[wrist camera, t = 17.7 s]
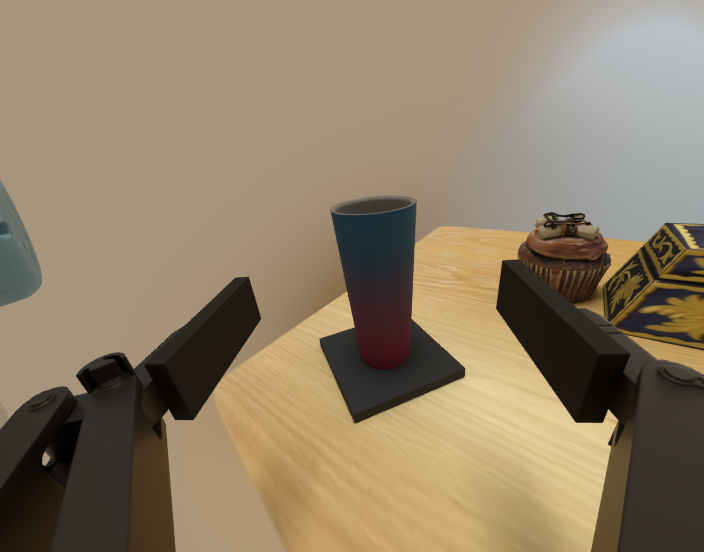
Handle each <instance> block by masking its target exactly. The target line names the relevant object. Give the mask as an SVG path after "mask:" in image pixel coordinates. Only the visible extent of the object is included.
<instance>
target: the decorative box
mask: <svg viewBox="0 0 704 552" xmlns="http://www.w3.org/2000/svg"><path fill="white" fill-rule="evenodd" d="M603 298H604V311H605V319H606V320H608V321H609V322H610V323H611V324H613V326H615V327H616V328H618V329H619V330H620V331H622V334H627V335H632V336H637V337H642V338H647V339H652V340H657V341H662V342H667V343H672V344H677V345H682V346H687V347H692V348H697V349H702V350H704V224H685V223H665V224H664V225H663V226H662V227H661V228H660V229H659V230H658V231H657V232H656V233H655V234H654V235H653V236H652V237H651V238H650V239H649V240H648V241H647V242H646V243H645V244H644V245H643V247H641V248H640V249H639V250H638V251H637V252H636V253H635V254H634V255H633V256H632V257H631V258H630V259H629V260H628V261H627V262H626V263H625V264H624V265H623V266H622V267H621V268H620V269H619V270H618V271H617V272H616V273H615V274H614V275H613V276H612V277H611V278H610V279H609V280H608V281H607V282H606V283H605V284H604V285H603Z"/></svg>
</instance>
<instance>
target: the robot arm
mask: <svg viewBox="0 0 704 552" xmlns="http://www.w3.org/2000/svg"><path fill="white" fill-rule="evenodd" d="M41 282H42V275H41V271H40V266H39V263H38V259H37V257H36V254H35V251H34V248H33V246H32V243H31V241H30V238H29V236H28V234H27V231H26V229H25V227H24V225H23V222H22V220H21V218H20V216H19V214H18V212H17V210H16V208H15V206H14V204H13V202H12V200H11V198H10V196H9V194H8V193H7V191H6V189H5V187H4V186H3V184H2V183H1V181H0V307H1V306H4V305H7V304H10V303H13V302H16V301H19V300H22V299H25V298H28V297H29V296H31V295H32V294H33V293H35V292H36V291H37V290H38V289H39V287H40V286H41ZM496 309H497V310H498V312H499V313H500V315H501V316H502V318H503V319H504V320H505V322H506V323H507V325H508V326H509V328H510V329H511V331H512V332H513V333H514V335H515V336H516V338H517V339H518V341H519V342H520V343H521V345H522V346H523V348H524V349H525V351H526V352H527V353H528V355H529V356H530V358H531V359H532V361H533V362H534V363H535V365H536V366H537V368H538V369H539V371H540V372H541V373H542V375H543V376H544V378H545V379H546V381H547V382H548V383H549V385H550V386H551V388H552V389H553V391H554V392H555V394H556V395H557V396H558V398H559V399H560V401H561V402H562V404H563V405H564V406H565V408H566V409H567V411H568V412H569V414H570V415H571V416H572V418H573V419H574V421H575V422H576V423H603V421H604V418H605V416H606V414H607V411H608V409H609V410H610V411H611V412H612V413H613V415H614V416H615V417H616V418H617V419H618V423H617V425H616V427H615V429H614V432H613V434H612V436H611V438H610V441H609V443H608V445H610V446H611V451H610V457H609V462H608V467H607V472H606V477H605V482H604V487H603V492H602V498H601V503H600V508H599V513H598V518H597V523H596V528H595V533H594V539H593V544H592V549H591V552H704V375H703V374H701V373H699V372H698V371H696V370H694V369H692V368H690V367H687V366H684V365H682V364H679V363H675V362H671V361H666V360H657V359H656V358H655V357H653V356H652V355H651V354H650V353H648V352H647V351H646V350H645V349H643V348H642V347H641V346H639V345H638V344H637V343H636V342H634V341H633V340H632V339H630V338H629V337H628V336H627V335H625V334H622V331H620V330H619V329H618V328H616V327H615V326H613V324H611V323H610V322H609V321H608V320H606V319H605V318H604V317H602V316H601V315H599V314H597V313H595V312H593V311H590V310H588V309H586V308H580V309H577V308H576V307H575V306H574V305H573V304H571V303H570V302H569V301H568V300H567V299H566V298H564V297H563V296H562V295H561V294H560V293H558V292H557V291H556V290H555V289H554V288H552V287H551V286H550V285H549V284H548V283H547V282H545V281H544V280H543V279H542V278H541V277H539V276H538V275H537V274H536V273H535V272H534V271H532V270H531V269H530V268H529V267H528V266H526V265H525V264H524V263H523V262H522V261H520V260H503V261H502V268H501V275H500V283H499V291H498V298H497V306H496ZM260 320H261V316H260V313H259V310H258V306H257V303H256V300H255V296H254V293H253V290H252V286H251V283H250V280H249V277H239V278H235V279H234V280H233V281H232V282H231V283H229V284H228V286H226V287H225V288H224V289H223V290H222V291H221V292H220V293H219V294H218V295H217V296H216V297H215V298H214V299H212V300H211V302H209V303H208V304H207V305H206V306H205V307H204V308H203V309H202V310H201V311H200V312H199V313H198V314H197V315H196V316H194V317H193V318H192V319H191V320H190V321H189V322H188V323H187V324H186V325H185V326H183V327H182V328H180V329H178V330H177V331H175V332H174V333H172V334H171V335H170V336H169V337H168V338H167V339H166V340H165V341H164V342H163V343H161V345H159V346H158V347H157V349H155V350H154V351H153V352H152V353H151V354H150V355H148V357H146V358H145V359H144V360H143V361H142V362H141V363H140V364H139V365H138V366H137V367H136V368H135V369H133V368H132V366H131V364H130V363H129V361H128V359H127V357H126V356H125V354H124V353H120V352H119V353H111V354H108V355H105V356H102V357H100V358H98V359H95V360H94V361H92V362H90V363H89V364H87V365H86V366H84V367H83V368H82V369H81V370H80V371H79V372H78V373H77V375H76V377H77V378H78V380H79V381H80V382H81V384H82V385H83V387H84V388H85V389H86V391H87V392H88V393H85V394H81V395H77V396H73V394H72V393H71V392H70V390H69V389H68V388H67V387H56V388H53V389H50V390H47V391H44V392H41V393H40V394H38V395H35V396H34V397H32V398H31V399H30V400H29V401H27V402H26V403H24V404H23V405H22V406H21V407H20V408H19V409H18V410H17V411H16V412H15V413H14V414H13V415H12V416H11V418H10V419H9V420H8V421H7V422H6V423H5V424H4V426H3V427H2V428H1V429H0V552H176V550H175V537H174V525H173V513H172V499H171V487H170V475H169V474H170V473H169V461H168V449H167V435H166V424H165V422H164V420H163V418H162V417H163V416H164V414H165V413H166V412H167V410H168V409H169V410H170V412H171V414H172V416H173V417H174V419H175V420H194V419H195V417H196V416H197V414H198V412H199V411H200V410H201V408H202V406H203V405H204V404H205V402H206V401H207V399H208V398H209V396H210V395H211V393H212V392H213V390H214V389H215V387H216V386H217V384H218V383H219V381H220V380H221V378H222V377H223V375H224V374H225V372H226V371H227V369H228V368H229V366H230V365H231V363H232V362H233V360H234V359H235V357H236V355H237V354H238V353H239V351H240V350H241V348H242V347H243V345H244V344H245V342H246V341H247V339H248V338H249V336H250V335H251V333H252V332H253V330H254V329H255V327H256V326H257V324H258V323H259V321H260ZM44 452H46V453H47V454H48V455H49V456H50V457H51V458H50V460H49V462H48V463H47V465H46V466H44V465H42V457H43V454H44Z"/></svg>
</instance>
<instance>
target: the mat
mask: <svg viewBox="0 0 704 552" xmlns="http://www.w3.org/2000/svg"><path fill="white" fill-rule="evenodd" d="M320 344H321V347H322V349H323V352H324V354H325V356H326V358H327V361H328V363H329V365H330V368H331V370H332V372H333V374H334V377H335V379H336V381H337V383H338V386H339V388H340V390H341V392H342V395H343V397H344V399H345V402H346V404H347V406H348V408H349V411H350V413H351V415H352V417H353V420H354V422H358V421H360V420H362V419H365V418H367V417H369V416H372V415H374V414H377V413H379V412H381V411H384V410H386V409H388V408H391V407H393V406H395V405H398V404H400V403H403V402H405V401H407V400H410V399H412V398H414V397H417V396H419V395H421V394H424V393H426V392H428V391H431V390H433V389H436V388H438V387H440V386H443V385H445V384H447V383H450V382H452V381H454V380H457V379H459V378H461V377H464V376H465V368H464V367H463V366H462V365H461V364H460V363H459V362H458V361H457V360H456V359H455V358H453V357H452V356H451V355H450V354H449V353H448V352H447V351H446V350H445V349H444V348H443V347H441V346H440V345H439V344H438V343H437V342H436V341H435V340H434V339H433V338H432V337H431V336H429V335H428V334H427V333H426V332H425V331H424V330H423V329H422V328H421V327H420V326H419V325H418V324H416V323H415V322H414V321H413V320H412V319H411V338H410V355H409V357H408V359H407V361H406V362H405V363H404V364H402V365H401V366H399V367H396V368H393V369H376V368H373V367H371V366H369V365H367V364H366V363H365V362H364V361H363V360H362V358H361V354H360V349H359V344H358V340H357V335H356V330H355V328H352V329H348V330H345V331H342V332H339V333H336V334H333V335H330V336H327V337H324V338H320Z"/></svg>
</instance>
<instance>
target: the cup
mask: <svg viewBox="0 0 704 552" xmlns="http://www.w3.org/2000/svg"><path fill="white" fill-rule="evenodd" d="M416 202H417V201H416V199H414V198H412V197H406V196H376V197H367V198H361V199H355V200H351V201H346V202H343V203H340V204H337V205H335V206H333V207H332V208H331V209H330V211H331V215H332V220H333V225H334V230H335V234H336V239H337V244H338V249H339V254H340V258H341V263H342V268H343V273H344V278H345V282H346V287H347V292H348V297H349V301H350V306H351V311H352V316H353V321H354V325H355V330H356V335H357V340H358V344H359V349H360V354H361V358H362V360H363V361H364V362H365V363H366V364H367V365H369V366H371V367H373V368H376V369H393V368H396V367H399V366H401V365H402V364H404V363H405V362H406V361H407V359H408V357H409V355H410V338H411V315H412V292H413V270H414V247H415V223H416Z"/></svg>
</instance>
